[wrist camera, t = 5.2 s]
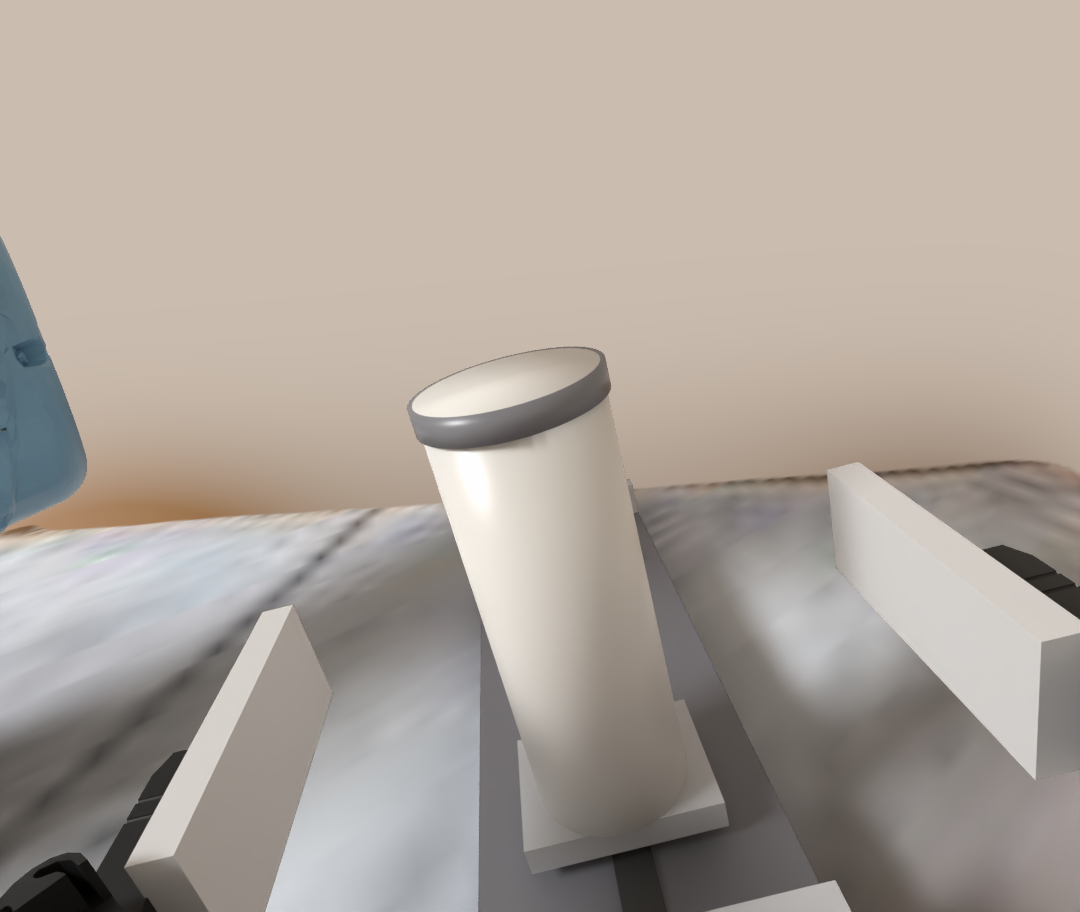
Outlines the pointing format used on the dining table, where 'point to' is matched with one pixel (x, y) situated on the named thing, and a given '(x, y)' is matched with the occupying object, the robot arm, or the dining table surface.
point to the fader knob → (566, 605)
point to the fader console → (669, 867)
